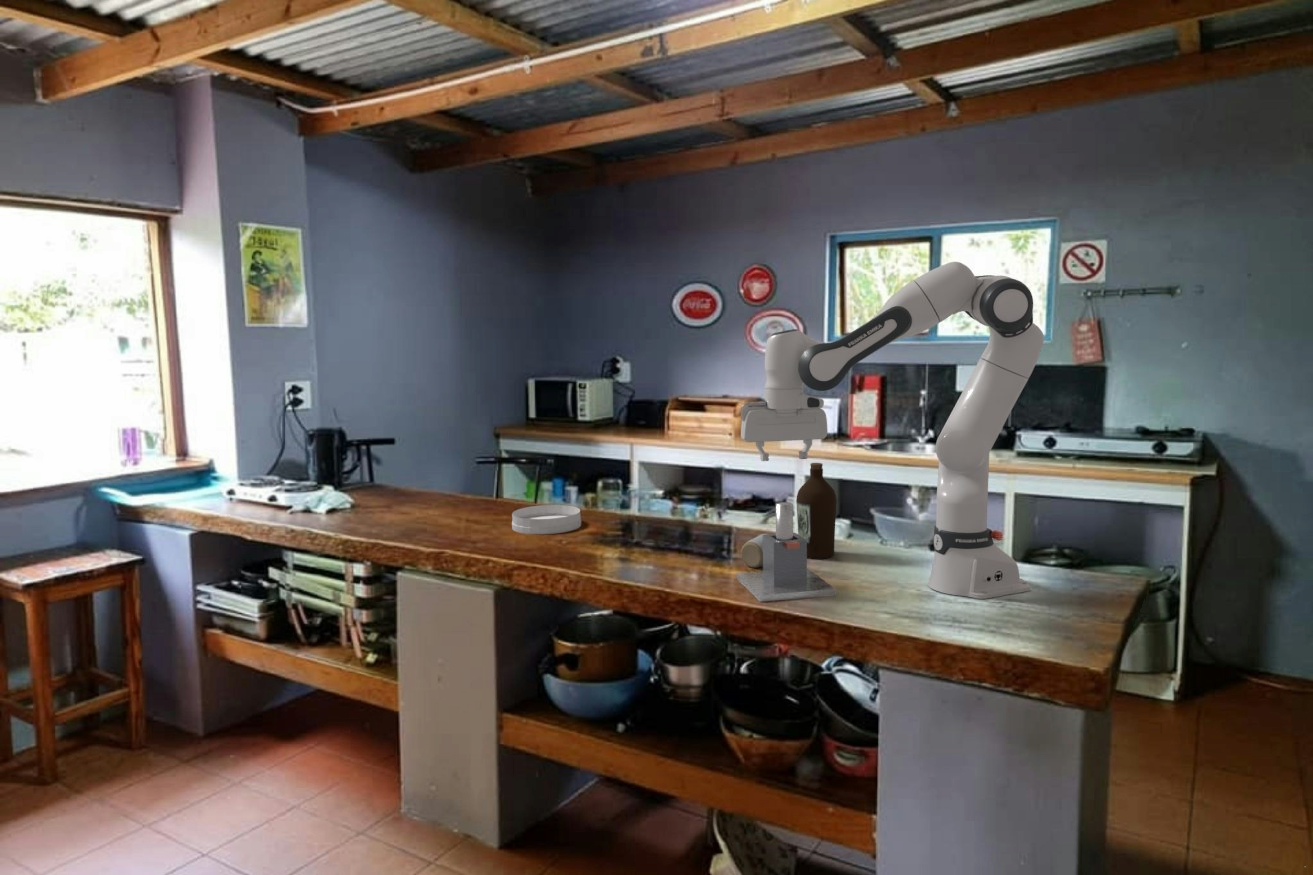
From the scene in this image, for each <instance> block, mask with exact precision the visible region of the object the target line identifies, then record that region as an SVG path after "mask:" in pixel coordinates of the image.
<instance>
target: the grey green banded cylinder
mask: <svg viewBox="0 0 1313 875" xmlns="http://www.w3.org/2000/svg"><path fill="white" fill-rule="evenodd" d="M793 533H794V504H793V503H791V502H781V501H780V502H776V503H775V534H776V540H777V541H783V540H793Z"/></svg>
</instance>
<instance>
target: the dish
mask: <svg viewBox="0 0 1313 875" xmlns="http://www.w3.org/2000/svg"><path fill="white" fill-rule="evenodd" d="M511 517H512V518H511V519H512V521H511V529H512V530H513V531H514V532H516V533H519V534H524V535H525V534H526V535H552V534H553V535H554V534H560V533H561V534H562V533H566V532H567V533H568V532H571V531H574V530H577V529H579V528H580V527H581V526H582V518H581V509H580V508H578V507H576V506H573V505H562V504H544V505H543V504H542V505H541V504H540V505H533V506H526V507H521V508H519V509H516V510H514V511H513V512H512V513H511Z"/></svg>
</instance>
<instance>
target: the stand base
mask: <svg viewBox="0 0 1313 875" xmlns="http://www.w3.org/2000/svg"><path fill="white" fill-rule="evenodd" d="M765 534H766V535H763V566H762V570H761V571H759V570H758V571H748V572H738V573H736V579H737V580H738V582H739V583H740V584H742V585H743V586H744V587H745V588H746V590H747V591H749V592H750V594H752V596H754V597H755V598H756V599H757V600H758V601H759V602H761V603H762V602H773V601H774V602H775V601H784V600H786V601H787V600H796V599H808V598H818V597H819V598H820V597H830V596H836V595H837V594H836V587H834V586H832V585H831V584H829V582H827V581H825V579H823V578H822V577H820V576H818V575H817V574H816V573H814V571H812V570H810V569H809V568H807V567H808V562H807V561H808V558H807V540H805V539H804V538H802V537H801V536H799V535H798V533H796V532H794V531H793V540H783V541H777V540H776V533H771V534H769V533H765Z"/></svg>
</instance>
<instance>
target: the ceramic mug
mask: <svg viewBox="0 0 1313 875" xmlns="http://www.w3.org/2000/svg"><path fill="white" fill-rule="evenodd" d="M766 534H767V533H762V534H759V535H757V536H756V537H754V538H752V539H750V540H748V541H746V542H744V544H742V547H741V550H740V555H741V559H742V560H743V563H745V564H746V565H747V566H748V567H749V568H752V569H753V568H754V569H755V568H756V569H758V568H762V567H763V535H766Z"/></svg>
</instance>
